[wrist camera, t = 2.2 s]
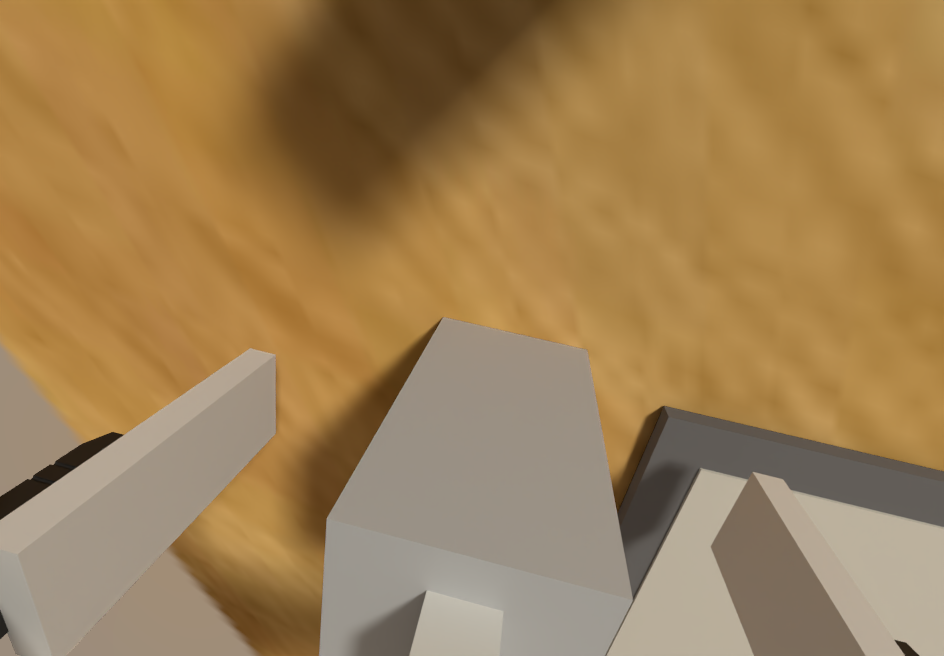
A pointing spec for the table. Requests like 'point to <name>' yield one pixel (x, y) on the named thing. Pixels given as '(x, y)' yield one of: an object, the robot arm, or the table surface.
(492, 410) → the usb dongle
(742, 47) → the table surface
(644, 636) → the charcoal picture frame
